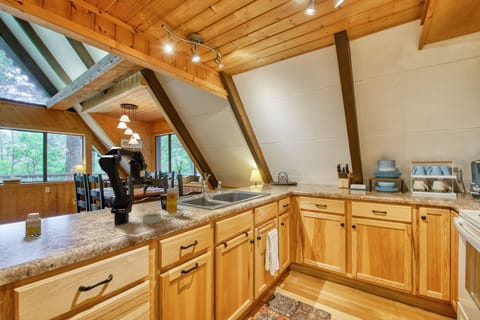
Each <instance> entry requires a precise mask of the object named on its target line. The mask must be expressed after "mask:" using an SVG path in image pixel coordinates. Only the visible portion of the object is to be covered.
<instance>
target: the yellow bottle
mask: <svg viewBox="0 0 480 320" xmlns="http://www.w3.org/2000/svg"><path fill="white" fill-rule="evenodd" d="M166 194H167V210H166V211H167V212H168V213H170V214H172V213H176V212H177V210H178V188H177V187H169V188H167V189H166Z"/></svg>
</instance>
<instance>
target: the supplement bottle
mask: <svg viewBox="0 0 480 320" xmlns="http://www.w3.org/2000/svg"><path fill="white" fill-rule="evenodd" d="M24 223H25V228H24V229H25V231H24V232H25V237H28V236H29V237H33V236H32V235H36V236H38V235H37V234H39V235H41V234H42V217H40V212H33V213H28V214H27V219H26V220H25V222H24ZM40 233H41V234H40Z"/></svg>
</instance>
